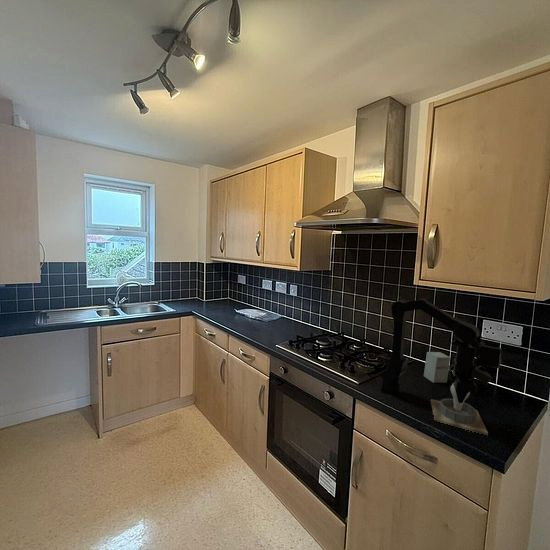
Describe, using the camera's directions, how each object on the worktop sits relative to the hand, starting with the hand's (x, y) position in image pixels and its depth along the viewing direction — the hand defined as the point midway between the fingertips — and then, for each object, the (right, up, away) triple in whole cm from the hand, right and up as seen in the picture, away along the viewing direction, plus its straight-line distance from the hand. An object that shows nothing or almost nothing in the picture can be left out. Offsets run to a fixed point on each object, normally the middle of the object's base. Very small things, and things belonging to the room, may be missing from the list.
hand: (458, 399), depth 111 cm
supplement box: (+9, -5, +33) cm, 35 cm away
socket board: (0, -7, +1) cm, 7 cm away
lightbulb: (0, -5, 0) cm, 5 cm away
